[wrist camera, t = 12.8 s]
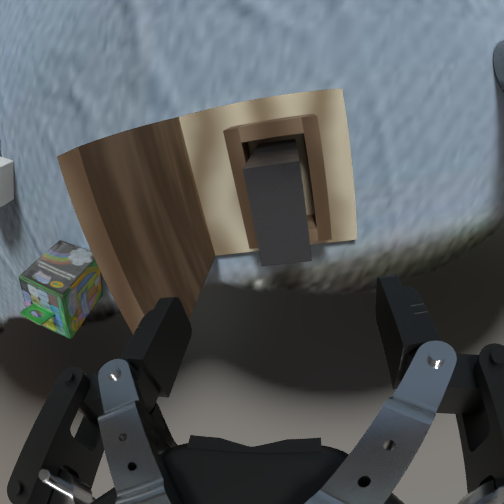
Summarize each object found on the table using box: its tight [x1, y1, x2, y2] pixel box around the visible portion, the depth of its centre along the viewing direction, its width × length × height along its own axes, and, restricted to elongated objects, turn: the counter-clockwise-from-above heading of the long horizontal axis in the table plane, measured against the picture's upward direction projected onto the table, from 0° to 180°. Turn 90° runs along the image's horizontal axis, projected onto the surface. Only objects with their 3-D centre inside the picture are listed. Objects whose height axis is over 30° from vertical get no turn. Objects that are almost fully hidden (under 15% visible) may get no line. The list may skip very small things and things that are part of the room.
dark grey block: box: [243, 139, 312, 266], centre depth 27 cm, size 4×8×12 cm, turn 10°
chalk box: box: [19, 240, 102, 338], centre depth 38 cm, size 9×9×15 cm
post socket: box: [57, 89, 357, 335], centre depth 25 cm, size 20×18×19 cm
